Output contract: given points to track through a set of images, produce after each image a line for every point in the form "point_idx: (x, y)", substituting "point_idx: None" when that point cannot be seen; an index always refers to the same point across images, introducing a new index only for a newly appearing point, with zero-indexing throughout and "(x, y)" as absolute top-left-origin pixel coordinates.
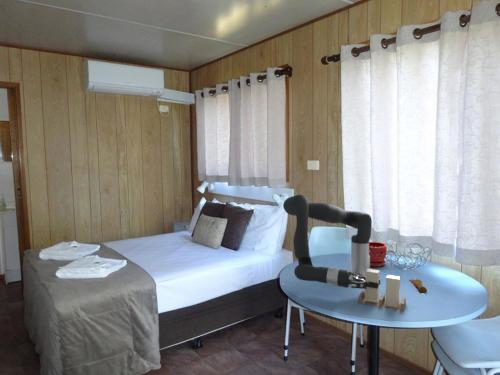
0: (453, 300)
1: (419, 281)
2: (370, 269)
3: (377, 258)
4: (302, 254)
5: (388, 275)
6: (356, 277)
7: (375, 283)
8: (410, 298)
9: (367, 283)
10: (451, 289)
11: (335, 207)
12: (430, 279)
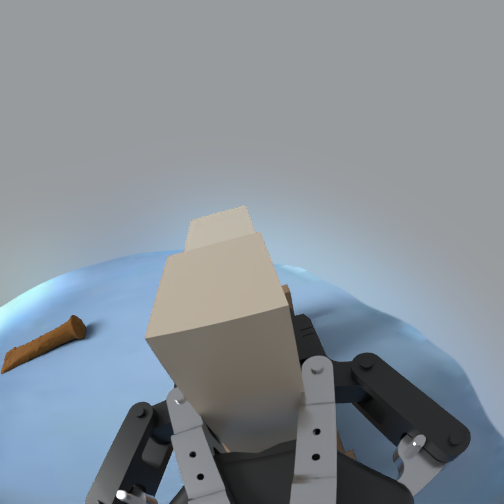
0: (119, 282)
1: (17, 348)
2: (172, 304)
3: None
4: None
5: (197, 244)
6: (322, 481)
7: (294, 318)
8: (129, 347)
9: (334, 363)
10: (59, 300)
11: None
12: (7, 338)
